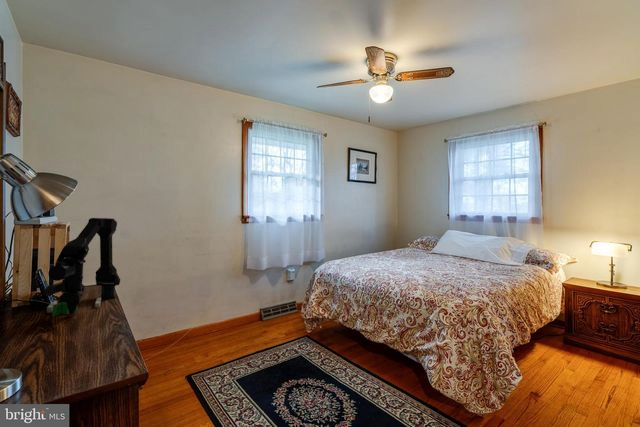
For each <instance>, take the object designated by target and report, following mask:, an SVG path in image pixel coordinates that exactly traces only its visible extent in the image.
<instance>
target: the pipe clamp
mask: <svg viewBox="0 0 640 427" xmlns="http://www.w3.org/2000/svg"><path fill="white" fill-rule="evenodd" d="M76 311H78V306H77V307H76V309H75V311H74V312H76ZM51 313H52V317H57V316H59V315H68V314H69V310H68V306H67V303H66V302H62V303H59V302H57V304H55V305H53V311H52V312H51ZM69 315H70V314H69Z"/></svg>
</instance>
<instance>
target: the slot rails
mask: <svg viewBox="0 0 640 427" xmlns="http://www.w3.org/2000/svg"><path fill="white" fill-rule="evenodd" d="M53 301H54V302H53V303H51V302H50V304H49V305H48V306H47V307H46V313H47V314H48V313H49V314H51V313H53V305H55V304H58V300H57V299H56V300H53ZM101 302H102V299H101V297H100V296H97V298H96V300H95V303H94V308H95V309H99V308H100V306H101Z"/></svg>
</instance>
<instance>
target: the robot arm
mask: <svg viewBox="0 0 640 427" xmlns="http://www.w3.org/2000/svg"><path fill="white" fill-rule="evenodd" d="M117 227H118V222H117V220H115V218H111V217H110V218H109V217H108V218H107V217H91V218H90V217H89V218H88V221H87V223H86V225H85V227H83V229H82V230H81V231H80V233H79V234H78V235H77V237H76V238H75V239H72V240H70V241H68V242H67V243H66V244H65V245H64V246H63V248H62V249H61V250H60V251H61V252H60V253H59V255H58V257H57V259H56V260H55V265H53V266H52V267H51V268H50V269H49V271H48V273H47V274H48V278H49V279H51V280H52V281H54V282H55V281H56V282H57V281H60V282H57V283H52V284H50V285H47V286H46V287H44V289H43V290H44V292H43V293H44V294H45V295H46V296H47V297H51V296H52V295H55V294H58V293H62V294H60V295H59V297H58V303H62V302H66V303H67V306H68V310H69V315H74V313H75V312H76V311H75V309H76V307H77V308H78V305H79V303H80V302H81V298H82V297H83V295H84V294H83V292H85V287H86V285H84V284H83V280H84V273H83V272H84V264H85V263H86V259H85V258H86V257H87V255H88V254H89V250H90V248H89V245H90V243H91V242H92V240H93V239H94V237H95V236H96V235H98V237H99V253H100V256H99V257H100V259H99V262H100V264H99V265H100V266H99V267H98V269H97V270H96V271H95V276H94V277H95V285H96V287H97V286H100V295H99V297H101V300H105V299H109V300H110V299H116V292H115V291H116V286H119V285H120V283H121V278H120V276H119V275H118V270H117V268H116V267H115V265H114V264H113V236H114V234H115V233H116V232H117ZM80 292H82V293H80Z"/></svg>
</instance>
